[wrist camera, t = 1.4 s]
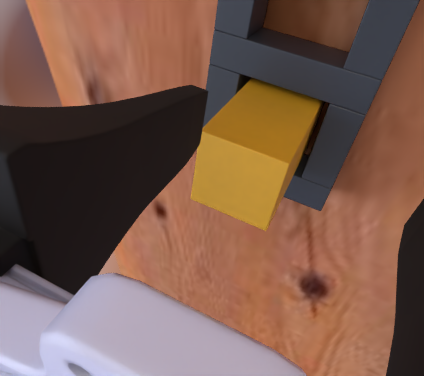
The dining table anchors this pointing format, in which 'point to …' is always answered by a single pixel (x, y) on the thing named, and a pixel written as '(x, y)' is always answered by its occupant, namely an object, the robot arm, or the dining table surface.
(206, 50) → the dining table surface
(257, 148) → the mustard peg
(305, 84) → the peg stand
